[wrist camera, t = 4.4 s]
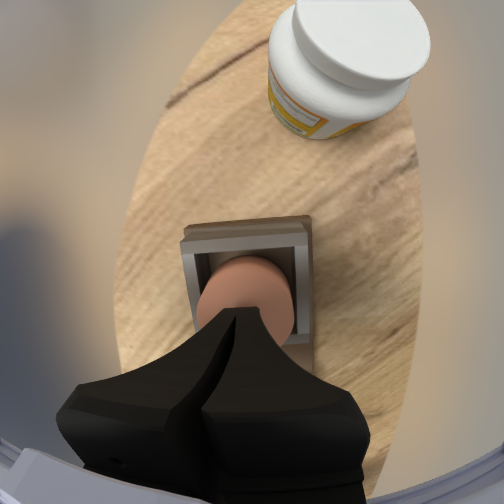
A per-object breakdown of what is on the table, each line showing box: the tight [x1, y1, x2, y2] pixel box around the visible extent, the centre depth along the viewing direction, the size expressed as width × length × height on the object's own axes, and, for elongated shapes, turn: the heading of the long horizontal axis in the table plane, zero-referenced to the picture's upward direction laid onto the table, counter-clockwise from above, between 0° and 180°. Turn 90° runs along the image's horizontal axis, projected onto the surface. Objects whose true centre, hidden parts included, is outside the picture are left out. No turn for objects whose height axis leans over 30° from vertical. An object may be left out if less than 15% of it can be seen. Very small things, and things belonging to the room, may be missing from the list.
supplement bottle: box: [268, 0, 430, 139], centre depth 10 cm, size 5×5×10 cm
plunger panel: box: [180, 215, 313, 374], centre depth 17 cm, size 16×7×4 cm, turn 5°
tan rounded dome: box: [196, 255, 294, 347], centre depth 13 cm, size 4×4×2 cm
